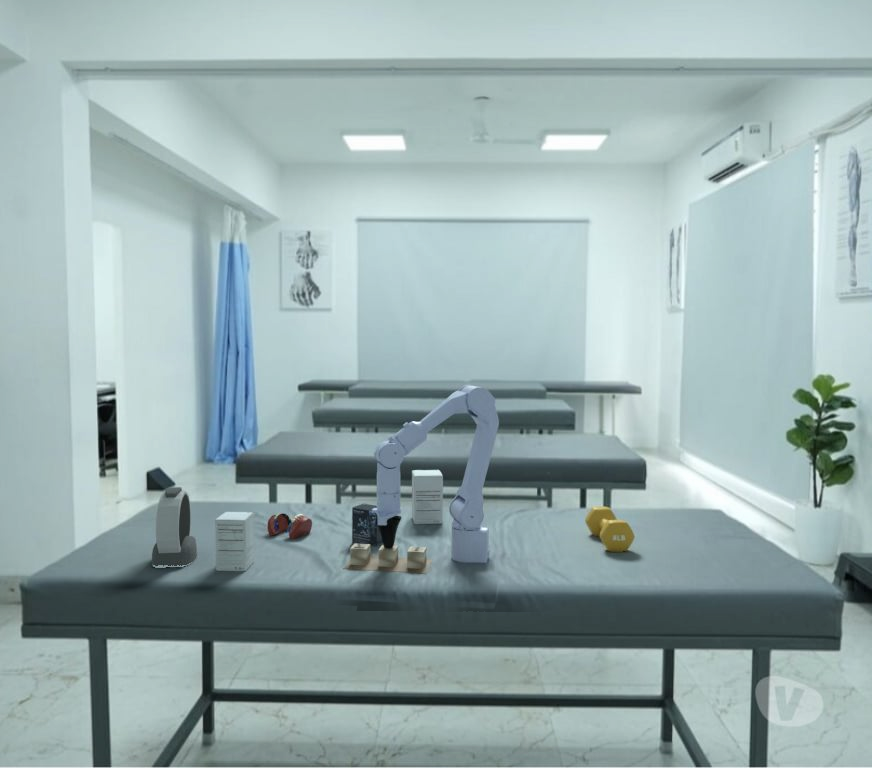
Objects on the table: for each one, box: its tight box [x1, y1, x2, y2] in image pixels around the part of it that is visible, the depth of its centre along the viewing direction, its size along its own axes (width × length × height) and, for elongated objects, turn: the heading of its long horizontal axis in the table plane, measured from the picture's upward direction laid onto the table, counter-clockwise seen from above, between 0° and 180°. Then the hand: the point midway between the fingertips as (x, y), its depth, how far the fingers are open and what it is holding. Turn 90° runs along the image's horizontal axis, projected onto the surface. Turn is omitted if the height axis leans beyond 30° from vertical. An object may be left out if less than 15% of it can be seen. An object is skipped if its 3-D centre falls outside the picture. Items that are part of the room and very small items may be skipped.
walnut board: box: [342, 555, 433, 574], centre depth 164 cm, size 20×10×1 cm, turn 81°
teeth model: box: [267, 512, 313, 540], centre depth 193 cm, size 8×6×12 cm
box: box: [351, 503, 383, 548], centre depth 182 cm, size 8×6×11 cm
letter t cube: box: [349, 543, 371, 565], centre depth 165 cm, size 4×4×4 cm
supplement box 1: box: [214, 511, 255, 572], centre depth 164 cm, size 7×7×13 cm
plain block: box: [378, 544, 399, 567], centre depth 164 cm, size 4×4×4 cm
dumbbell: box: [584, 506, 636, 553], centre depth 186 cm, size 19×9×8 cm, turn 2°
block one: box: [406, 546, 427, 569], centre depth 163 cm, size 4×4×4 cm
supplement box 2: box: [411, 469, 444, 525], centre depth 208 cm, size 9×9×15 cm
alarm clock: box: [151, 486, 198, 566], centre depth 169 cm, size 16×10×18 cm, turn 9°
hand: (388, 547), depth 164 cm, fingers closed
